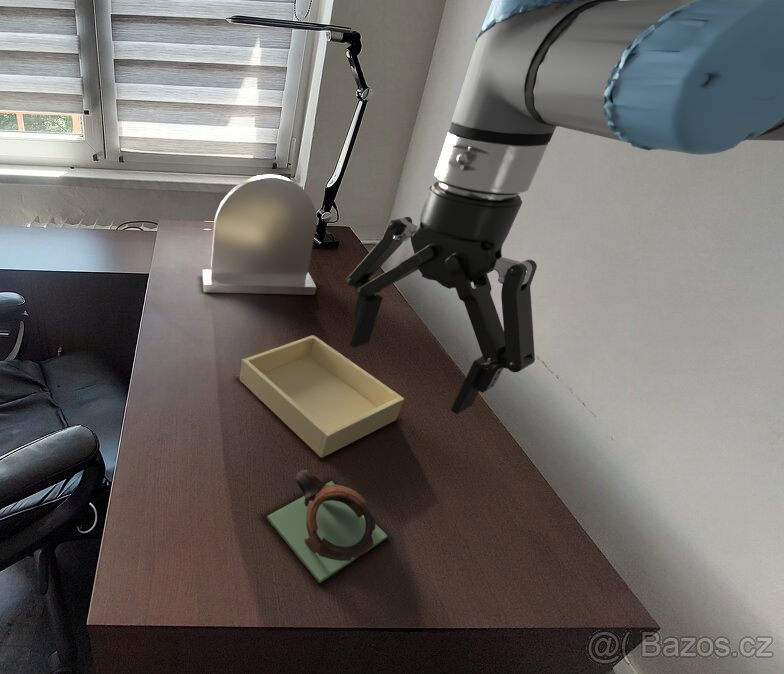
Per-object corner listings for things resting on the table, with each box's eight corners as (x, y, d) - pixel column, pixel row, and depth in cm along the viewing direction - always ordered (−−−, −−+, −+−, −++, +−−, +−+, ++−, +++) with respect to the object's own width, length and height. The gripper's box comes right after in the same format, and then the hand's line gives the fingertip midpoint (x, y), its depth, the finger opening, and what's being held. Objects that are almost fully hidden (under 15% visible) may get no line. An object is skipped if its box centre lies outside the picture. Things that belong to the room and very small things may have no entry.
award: (306, 278, 122) (327, 172, 107) (314, 294, 115) (338, 183, 100) (202, 276, 122) (208, 169, 106) (203, 292, 114) (210, 179, 99)
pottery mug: (383, 528, 61) (398, 523, 54) (333, 580, 59) (343, 581, 52) (314, 461, 66) (319, 447, 59) (267, 506, 64) (267, 498, 57)
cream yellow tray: (396, 419, 78) (404, 398, 76) (321, 458, 71) (327, 436, 68) (308, 354, 94) (313, 334, 91) (239, 379, 86) (242, 359, 83)
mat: (386, 538, 60) (387, 535, 59) (319, 583, 55) (320, 580, 54) (330, 483, 67) (331, 480, 67) (266, 518, 62) (267, 515, 61)
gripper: (341, 161, 48) (305, 329, 60) (625, 243, 31) (495, 457, 43) (388, 154, 51) (345, 315, 63) (667, 225, 34) (536, 428, 46)
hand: (405, 373), depth 53 cm, fingers open, 13 cm apart
